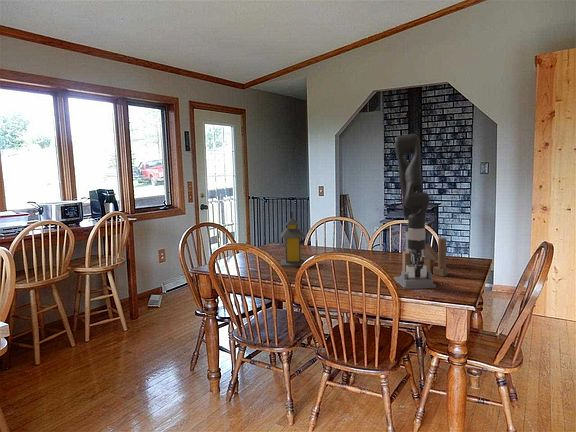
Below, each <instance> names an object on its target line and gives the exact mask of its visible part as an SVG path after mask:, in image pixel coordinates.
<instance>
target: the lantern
mask: <svg viewBox="0 0 576 432" xmlns="http://www.w3.org/2000/svg"><path fill="white" fill-rule="evenodd" d="M293 210H294V209H290V219H288V221H287V222H286V223H285V226H286V228H285V229H284V230H283V231H282V232H281V233H280V235H279V238H280V239H281V238H283V239H285V240H284V241H285V259H280V267H281V266H295V267H301V266H300V265H301V264H302V263H303V262H304V261H306V259H305V258H302V257H301V238H305V237H306V234H305V233H304V232H303V231H302V230H301V229H300V228H299V227H298V226H299V222H298V221H297V220H296V219H295V218H294V211H293ZM306 262H307V261H306Z"/></svg>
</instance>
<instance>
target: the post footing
mask: <svg viewBox="0 0 576 432" xmlns="http://www.w3.org/2000/svg"><path fill="white" fill-rule="evenodd" d="M401 254H402V256H401V257H402V259H401V260H402V262H401V263H402V270H401V271H400V272H401V275H399V276H393V280H395V282H396V283H397V284H398V283H399V284H400V285H401V286H402V287H403V288H404V289H403V288H402V287H401V286H400V285H399V284H398V285H399V286H400V287H401V288H402V289H403V290H411V289H412V290H415V289H416V290H417V289H436V288H437V285H436V284H435V283H434V278H433V276H432V275H433V273H431V272H430V271H428V270H427V279H407V273H406V265H412V264H410V254H409V251H406V250H405V251H402V253H401Z"/></svg>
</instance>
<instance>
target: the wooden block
mask: <svg viewBox="0 0 576 432" xmlns="http://www.w3.org/2000/svg"><path fill="white" fill-rule="evenodd" d="M437 250H438V251H437V252H436V251H435V250H434V248H433V247H432V246H431V244H430V243H425V249H424V256H423V257H424V262H423V264H424V265H426V266H427V270H428V271H430V272H431V273H432V275H436V276H439V277H446V276H448V271H449V270H448V268H447V238H446V237H438V238H437ZM436 261H437V265H435V262H436Z"/></svg>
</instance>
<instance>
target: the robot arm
mask: <svg viewBox="0 0 576 432" xmlns="http://www.w3.org/2000/svg"><path fill="white" fill-rule="evenodd" d="M419 137H420V136H419V135H418V134H417V133H409V134H402V135H398V136H396V137H395V139H394V148H395V153H396V158H397V163H398V164H397V165H398V173H399V175H398V176H399V184H400V189H401V190H400V191H401V196H402V197H401V199H402V215H403V218H404V219H407V225H406V227H405V251H409V254H410V264H412V265H415V277H416V278H420V272H421V269H423V264H424V259H425V258H424V249H425V244H426V214H427V211H428V208H429V205H430V196H429V194H428V193H427V192H424V191H423V192H420V191H421V190H422V189H423V180H422V179H423V178H422V169H421V165H422V164H421V162H422V161H421V144H420V138H419ZM412 154H413V156H412V158H411V161H410V162H409V161H408V160H407V158H406V156H407V155H412ZM405 155H406V156H405ZM418 265H419V266H418Z"/></svg>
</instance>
